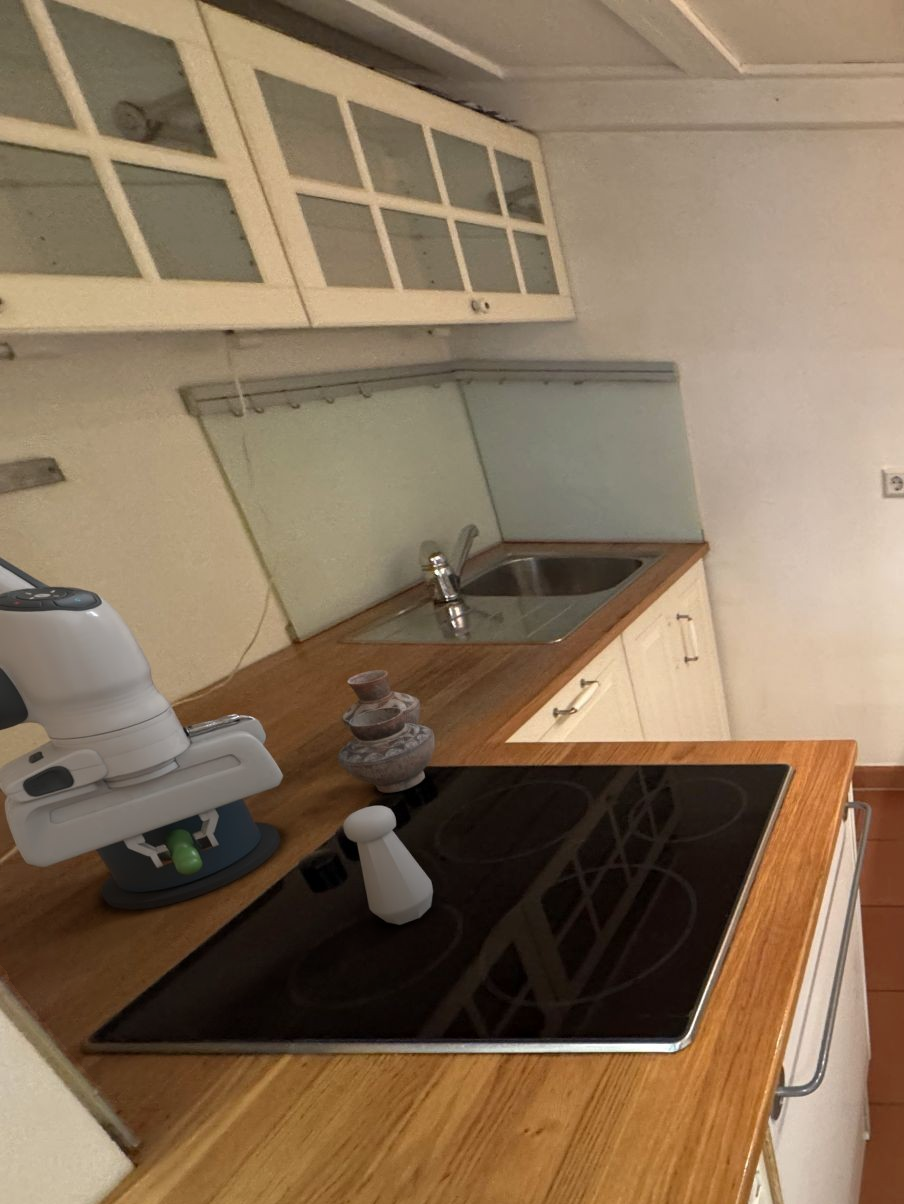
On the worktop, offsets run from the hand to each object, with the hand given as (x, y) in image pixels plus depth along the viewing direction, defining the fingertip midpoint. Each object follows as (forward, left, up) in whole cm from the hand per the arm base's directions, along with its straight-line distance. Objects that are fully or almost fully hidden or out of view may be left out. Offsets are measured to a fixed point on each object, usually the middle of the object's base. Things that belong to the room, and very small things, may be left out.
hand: (187, 854), depth 84 cm
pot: (-1, +6, -5) cm, 8 cm away
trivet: (-2, +11, -7) cm, 13 cm away
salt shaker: (+17, -17, -7) cm, 25 cm away
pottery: (+20, +24, -7) cm, 32 cm away
